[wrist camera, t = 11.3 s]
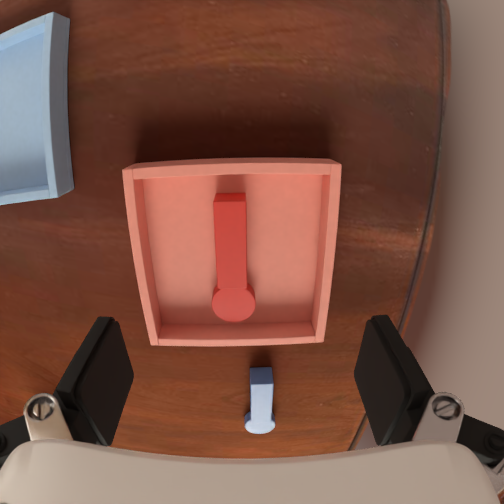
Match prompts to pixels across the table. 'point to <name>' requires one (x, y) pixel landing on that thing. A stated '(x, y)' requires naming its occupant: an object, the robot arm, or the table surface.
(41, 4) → the table surface
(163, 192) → the red tray
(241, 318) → the red spoon
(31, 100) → the blue tray
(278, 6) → the table surface
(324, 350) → the table surface
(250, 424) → the blue spoon
